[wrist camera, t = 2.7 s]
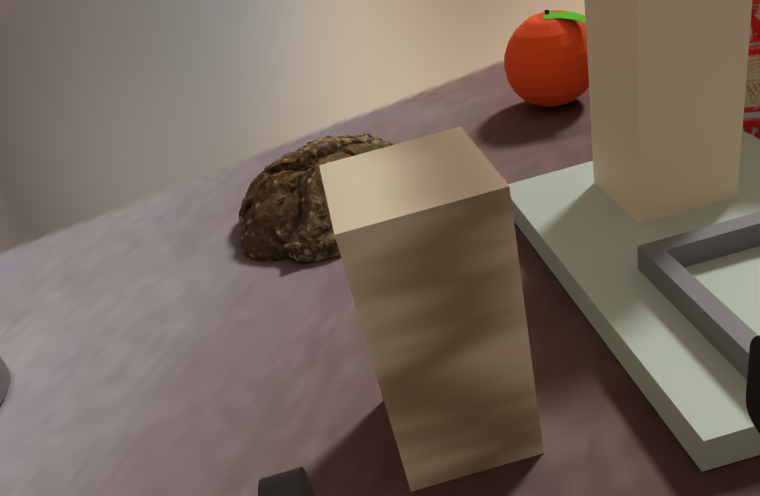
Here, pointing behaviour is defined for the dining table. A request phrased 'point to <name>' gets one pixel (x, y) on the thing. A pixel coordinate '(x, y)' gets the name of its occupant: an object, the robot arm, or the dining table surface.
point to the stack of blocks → (753, 76)
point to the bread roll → (296, 202)
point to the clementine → (548, 58)
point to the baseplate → (641, 310)
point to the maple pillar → (439, 302)
